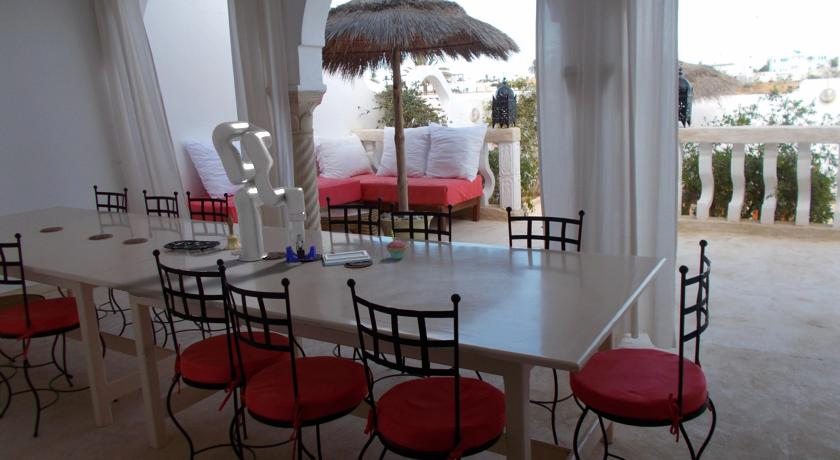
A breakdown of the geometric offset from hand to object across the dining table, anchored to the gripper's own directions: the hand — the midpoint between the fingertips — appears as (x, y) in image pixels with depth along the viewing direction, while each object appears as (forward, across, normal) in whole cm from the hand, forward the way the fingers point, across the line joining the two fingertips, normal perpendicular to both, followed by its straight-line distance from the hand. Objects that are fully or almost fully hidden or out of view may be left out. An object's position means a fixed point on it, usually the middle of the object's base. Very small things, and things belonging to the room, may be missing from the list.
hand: (301, 256), depth 274 cm
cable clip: (+2, -2, 0) cm, 3 cm away
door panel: (+2, +5, +19) cm, 19 cm away
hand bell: (+2, -40, -30) cm, 51 cm away
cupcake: (+3, +11, +40) cm, 41 cm away
